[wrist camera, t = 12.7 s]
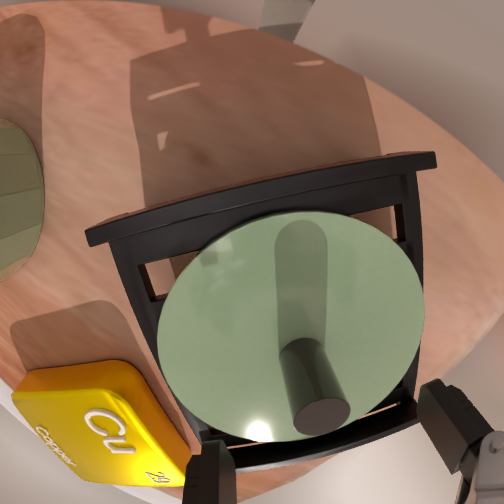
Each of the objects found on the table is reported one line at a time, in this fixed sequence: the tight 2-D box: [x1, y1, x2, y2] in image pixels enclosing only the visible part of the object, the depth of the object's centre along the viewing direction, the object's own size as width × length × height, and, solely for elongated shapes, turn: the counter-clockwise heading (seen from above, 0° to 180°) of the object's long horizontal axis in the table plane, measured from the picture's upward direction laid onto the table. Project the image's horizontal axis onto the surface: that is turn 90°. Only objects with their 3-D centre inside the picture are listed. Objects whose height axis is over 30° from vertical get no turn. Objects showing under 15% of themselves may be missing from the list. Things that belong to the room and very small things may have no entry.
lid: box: [157, 210, 425, 442], centre depth 13 cm, size 15×15×6 cm
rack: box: [85, 151, 437, 474], centre depth 18 cm, size 18×16×8 cm
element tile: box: [11, 360, 191, 487], centre depth 22 cm, size 15×15×5 cm
